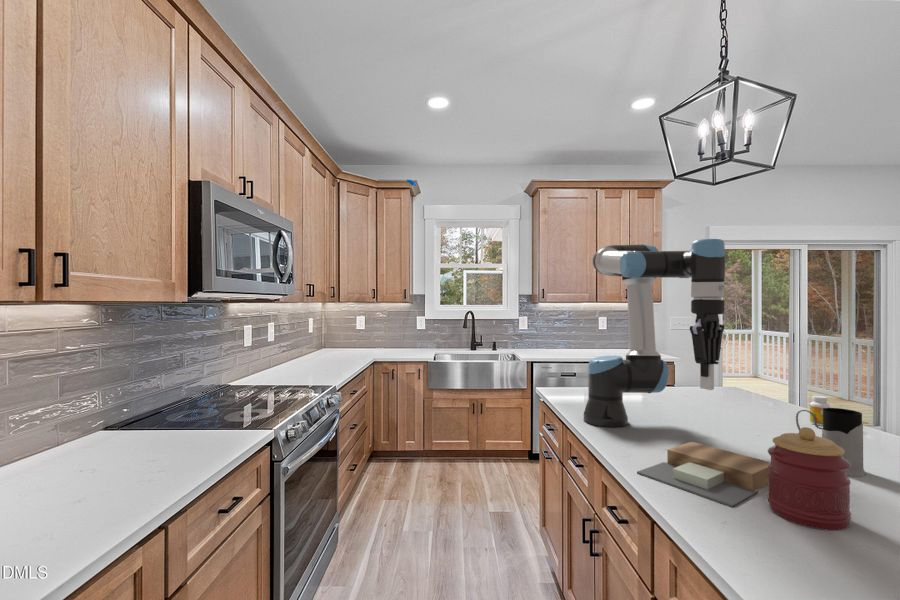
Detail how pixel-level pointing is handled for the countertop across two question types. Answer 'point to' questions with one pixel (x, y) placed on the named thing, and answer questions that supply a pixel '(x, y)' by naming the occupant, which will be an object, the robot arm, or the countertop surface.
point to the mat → (719, 493)
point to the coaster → (698, 475)
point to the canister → (809, 480)
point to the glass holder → (844, 435)
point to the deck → (723, 464)
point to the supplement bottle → (818, 409)
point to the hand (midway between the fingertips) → (706, 388)
